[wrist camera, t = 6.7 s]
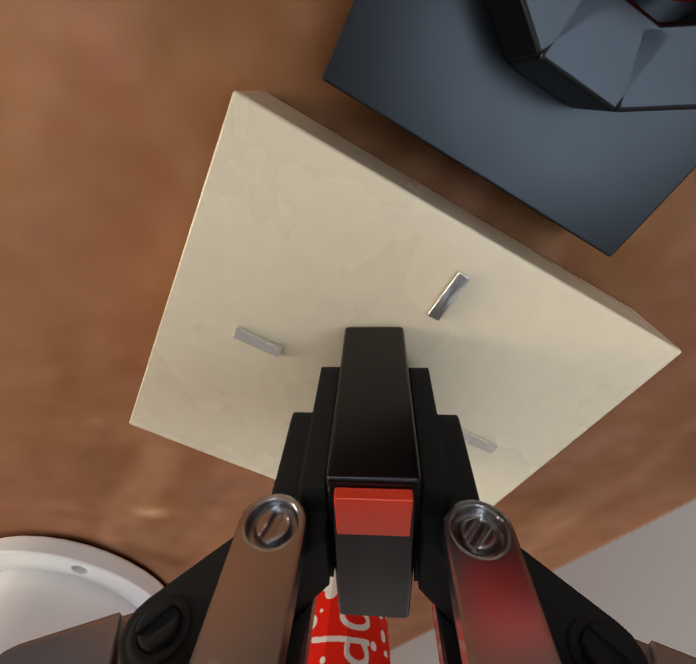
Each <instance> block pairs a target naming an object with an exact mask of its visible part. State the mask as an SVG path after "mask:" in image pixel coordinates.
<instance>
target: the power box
mask: <svg viewBox="0 0 696 664" xmlns="http://www.w3.org/2000/svg"><path fill="white" fill-rule="evenodd" d="M322 79H323V80H324V81H326V82H327V83H329V84H331V85H332V86H334V87H335V88H337V89H339V90H340V91H342V92H344V93H345V94H347V95H348V96H350V97H352V98H353V99H355V100H356V101H358V102H360V103H361V104H363V105H365V106H366V107H368V108H369V109H371V110H373V111H374V112H376V113H378V114H379V115H381V116H382V117H384V118H386V119H387V120H389V121H390V122H392V123H394V124H395V125H397V126H399V127H400V128H402V129H403V130H405V131H407V132H408V133H410V134H411V135H413V136H415V137H416V138H418V139H420V140H421V141H423V142H424V143H426V144H428V145H429V146H431V147H432V148H434V149H436V150H437V151H439V152H441V153H442V154H444V155H445V156H447V157H449V158H450V159H452V160H453V161H455V162H457V163H458V164H460V165H462V166H463V167H465V168H466V169H468V170H470V171H471V172H473V173H475V174H476V175H478V176H479V177H481V178H483V179H484V180H486V181H487V182H489V183H491V184H492V185H494V186H496V187H497V188H499V189H500V190H502V191H504V192H505V193H507V194H508V195H510V196H512V197H513V198H515V199H517V200H518V201H520V202H521V203H523V204H525V205H526V206H528V207H529V208H531V209H533V210H534V211H536V212H538V213H539V214H541V215H542V216H544V217H546V218H547V219H549V220H550V221H552V222H554V223H555V224H557V225H559V226H560V227H562V228H563V229H565V230H567V231H568V232H570V233H571V234H573V235H575V236H576V237H578V238H580V239H581V240H583V241H584V242H586V243H588V244H589V245H591V246H593V247H594V248H596V249H597V250H599V251H601V252H602V253H604V254H605V255H607V256H612V255H613V254H614V253H615V252H616V251H617V250H618V248H619V247H620V246H621V245H622V244H623V243H624V242H625V241H626V240H627V239H628V238H629V237H630V236H631V235H632V234H633V233H634V232H635V231H636V230H637V228H638V227H639V226H640V225H641V224H642V223H643V222H644V221H645V220H646V219H647V218H648V217H649V216H650V215H651V214H652V213H653V212H654V211H655V210H656V208H657V207H658V206H659V205H660V204H661V203H662V202H663V201H664V200H665V199H666V198H667V197H668V196H669V195H670V194H671V193H672V192H673V191H674V189H675V188H676V187H677V186H678V185H679V184H680V183H681V182H682V181H683V180H684V179H685V178H686V177H687V176H688V175H689V174H690V173H691V172H692V171H693V169H694V168H695V167H696V1H694V2H677V1H672V0H354V1H353V3H352V6H351V8H350V11H349V13H348V16H347V18H346V20H345V23H344V25H343V28H342V30H341V33H340V35H339V37H338V40H337V42H336V45H335V47H334V49H333V52H332V54H331V57H330V59H329V62H328V64H327V66H326V69H325V71H324V74H323V76H322Z"/></svg>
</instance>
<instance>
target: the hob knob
mask: <svg viewBox="0 0 696 664" xmlns="http://www.w3.org/2000/svg"><path fill="white" fill-rule="evenodd" d="M326 481H327V491H328V501H329V511H330V522H331V532H332V542H333V553H334V563H335V573H336V584H337V594H338V604H339V611H340V613H341V614H343V615H362V616H381V617H401V618H406V617H408V615H409V608H410V597H411V587H412V576H413V565H414V555H415V544H416V533H417V522H418V512H419V501H420V490H421V471H420V463H419V455H418V446H417V438H416V429H415V421H414V412H413V404H412V395H411V387H410V378H409V370H408V362H407V353H406V345H405V336H404V330H403V328H402V327H347V328H346V329H345V334H344V342H343V349H342V357H341V365H340V373H339V381H338V389H337V396H336V404H335V412H334V420H333V428H332V436H331V443H330V451H329V459H328V467H327V475H326Z"/></svg>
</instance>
